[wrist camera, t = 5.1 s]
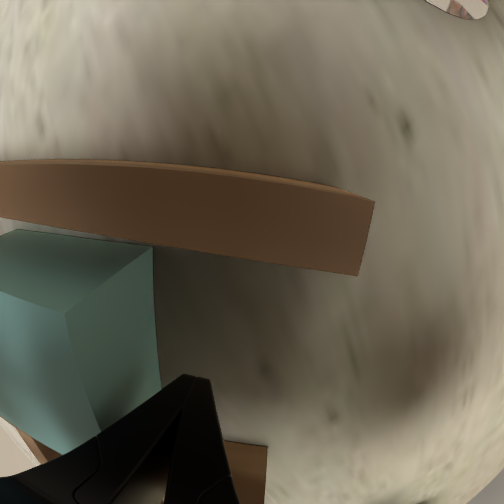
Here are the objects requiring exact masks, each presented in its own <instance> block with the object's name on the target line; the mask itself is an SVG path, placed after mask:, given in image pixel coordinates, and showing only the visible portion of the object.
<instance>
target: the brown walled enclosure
mask: <svg viewBox="0 0 504 504" xmlns="http://www.w3.org/2000/svg"><path fill="white" fill-rule="evenodd" d="M374 204H375V202H374V201H372V200H369V199H366V198H364V197H361V196H358V195H356V194H353V193H350V192H348V191H345V190H342V189H339V188H337V187H332V186H327V185H322V184H317V183H311V182H306V181H300V180H294V179H289V178H282V177H276V176H270V175H263V174H256V173H249V172H242V171H234V170H226V169H218V168H209V167H200V166H190V165H179V164H168V163H155V162H139V161H121V160H90V159H43V160H15V161H0V217H2V218H7V219H13V220H19V221H24V222H30V223H35V224H41V225H47V226H52V227H58V228H64V229H70V230H75V231H81V232H87V233H93V234H99V235H105V236H110V237H116V238H122V239H128V240H134V241H140V242H146V243H152V244H158V245H164V246H170V247H176V248H182V249H188V250H194V251H201V252H207V253H213V254H219V255H225V256H231V257H238V258H244V259H250V260H256V261H263V262H269V263H275V264H282V265H288V266H294V267H301V268H307V269H314V270H320V271H327V272H333V273H340V274H346V275H353V276H358V273H359V269H360V266H361V262H362V258H363V254H364V250H365V246H366V241H367V237H368V233H369V228H370V224H371V219H372V214H373V209H374ZM0 417H2V416H0ZM2 418H3V417H2ZM3 419H4V418H3ZM4 420H6V419H4ZM6 421H7V420H6ZM7 422H8V421H7ZM8 423H10V422H8ZM10 424H11V423H10ZM11 425H12V426H14V425H13V424H11ZM14 427H15V428H16V429H17V431H18V432H19V434H20V435H21V437H22V438H23V440H24V441H25V443H26V444H27V446H28V447H29V449H30V450H31V451H32V453H33V454H34V456H35V457H36V458H37V460H38V461H39V462H40V464H44V463H46V462H48V461H51V460H53V459H55V458H57V457H59V456H61V455H62V454H60V453H58V452H57V451H55V450H53V449H51V448H49V447H48V446H46V445H44V444H42V443H41V442H39V441H37V440H36V439H34V438H32V437H31V436H29V435H28V434H26V433H25V432H23V431H22V430H20V429H19V428H17V427H16V426H14ZM224 446H225V450H226V454H227V458H228V462H229V466H230V470H231V474H232V475H231V476H232V477H233V481H234V484H235V488H236V491H237V494H238V497H239V501H240V504H264V497H265V482H266V467H267V450H268V447H263V446H255V445H247V444H240V443H234V442H227V441H224ZM164 497H165V494H164V496H163V499H162V501H161V503H160V504H163V503H164Z"/></svg>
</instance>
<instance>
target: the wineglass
mask: <svg viewBox="0 0 504 504" xmlns="http://www.w3.org/2000/svg"><path fill="white" fill-rule="evenodd" d="M426 1H427V2H429V3H431V4H433V5H434V6H436V7H438V8H440V9H442V10H444V11H445V12H447V13H450V14H453V15H456V16H458V17H461V18H464V19H480V18H481V17H483V16H485V15H486V13H487V10H488V6H489V4H488V0H426Z"/></svg>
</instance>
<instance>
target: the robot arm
mask: <svg viewBox="0 0 504 504" xmlns="http://www.w3.org/2000/svg"><path fill="white" fill-rule="evenodd" d="M231 475H232V474H231V470H230V466H229V462H228V458H227V454H226V450H225V446H224V441H223V437H222V433H221V428H220V424H219V419H218V415H217V410H216V405H215V400H214V395H213V391H212V385H211V381H210V379H207V378H202V377H196V376H193V375H189V374H182V375H180V376H179V377H178V378H176V379H175V380H174V381H172V382H171V383H170V384H168V385H167V386H165V387H164V388H163V389H161V390H160V391H159V392H157V393H156V394H155V395H153V396H152V397H150V398H149V399H148V400H146V401H145V402H143V403H142V404H141V405H139V406H138V407H136V408H135V409H134V410H132V411H131V412H129V413H128V414H127V415H125V416H124V417H122V418H121V419H119V420H118V421H116V422H115V423H113V424H112V425H111V426H109V427H108V428H106V429H105V430H103V431H102V432H100V433H99V434H97V437H96V436H94V437H92V438H91V439H89V440H88V441H86V442H85V443H83V444H81V445H80V446H78V447H76V448H75V449H73V450H71V451H70V452H68V453H65V454H63V455H61V456H59V457H57V458H55V459H53V460H51V461H48V462H46V463H44V464H41V465H39V466H37V467H34V468H32V469H29V470H27V471H24V472H21V473H19V474H16V475H12V476H8V477H0V504H160V503H161V501H162V499H163V496H164V494H165V497H164V503H163V504H240V501H239V497H238V494H237V491H236V488H235V484H234V481H233V477H232V476H231Z"/></svg>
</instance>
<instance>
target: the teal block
mask: <svg viewBox="0 0 504 504" xmlns="http://www.w3.org/2000/svg"><path fill="white" fill-rule="evenodd" d="M160 390H161V381H160V372H159V363H158V353H157V341H156V329H155V313H154V293H153V247H150V246H142V245H134V244H126V243H118V242H110V241H103V240H95V239H87V238H80V237H72V236H65V235H57V234H50V233H42V232H35V231H27V230H20V229H17V230H14V231H11V232H9V233H6V234H3V235H1V236H0V416H2V417H3V418H4V419H6V420H7V421H8V422H10V423H11V424H13V425H14V426H16V427H17V428H19V429H20V430H22V431H23V432H25V433H26V434H28V435H29V436H31V437H32V438H34V439H36V440H37V441H39V442H41V443H42V444H44V445H46V446H48V447H49V448H51V449H53V450H55V451H57V452H58V453H60V454H62V455H63V454H65V453H68V452H70V451H71V450H73V449H75V448H76V447H78V446H80V445H81V444H83V443H85V442H86V441H88V440H89V439H91V438H92V437H94V436H96V437H97V434H99V433H100V432H102V431H103V430H105V429H106V428H108V427H109V426H111V425H112V424H113V423H115V422H116V421H118V420H119V419H121V418H122V417H124V416H125V415H127V414H128V413H129V412H131V411H132V410H134V409H135V408H136V407H138V406H139V405H141V404H142V403H143V402H145V401H146V400H148V399H149V398H150V397H152V396H153V395H155V394H156V393H157V392H159V391H160Z"/></svg>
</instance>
